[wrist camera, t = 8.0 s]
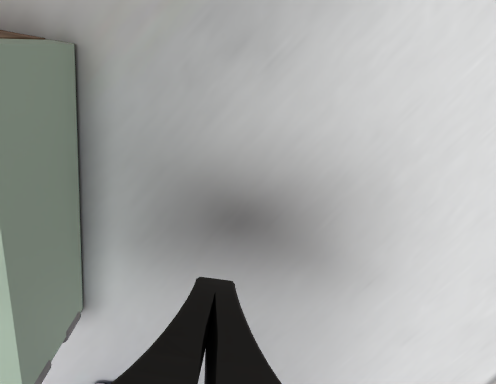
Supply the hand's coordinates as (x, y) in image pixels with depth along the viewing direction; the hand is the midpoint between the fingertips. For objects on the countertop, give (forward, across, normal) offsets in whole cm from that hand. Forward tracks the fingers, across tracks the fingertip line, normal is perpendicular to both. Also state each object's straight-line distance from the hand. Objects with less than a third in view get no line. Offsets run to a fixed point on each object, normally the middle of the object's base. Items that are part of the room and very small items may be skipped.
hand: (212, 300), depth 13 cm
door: (+6, +8, 0) cm, 10 cm away
